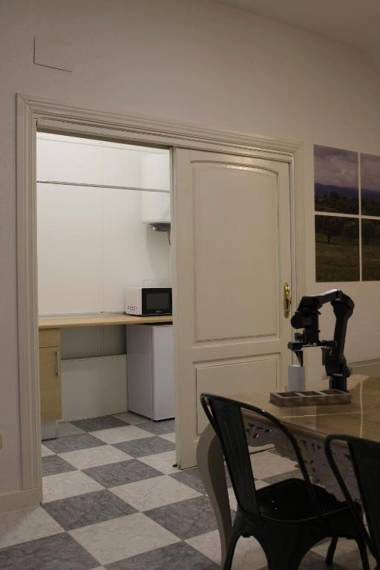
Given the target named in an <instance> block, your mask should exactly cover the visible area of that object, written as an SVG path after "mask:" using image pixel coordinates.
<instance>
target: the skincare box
mask: <svg viewBox="0 0 380 570" xmlns="http://www.w3.org/2000/svg"><path fill="white" fill-rule="evenodd" d="M305 370H306V367H305V365H303V367H301V366H300V364H288V365H287V379H288V381H287V382H288V392H289V391H307V389H306V371H305Z"/></svg>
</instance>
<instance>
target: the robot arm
mask: <svg viewBox="0 0 380 570" xmlns="http://www.w3.org/2000/svg"><path fill="white" fill-rule="evenodd" d="M328 303H329V305H331V307H332V312H333V315H334V316H335V325H334V332H333V336H332V337H333V338H332V339H331V338H330V339H328V338H327V339H320V333H321V329H320V323H319V322H320V321H319V320H320V319H319V316H321V315H322V312H320V310H319V309H322V308H323V305H324V304H328ZM297 306H298V307H297V309H296V311H294V314H293V315H292V316H291V318H290V320H289V321H290V326H291V327H292V328H293V329H294V330H301V329H302V332H294V335H293V336H294V341H288V342H287V349H288V350H290V351H291V352H294V354H295V356H296V357H297V360H298V363H299V365H300V366H301V367H303V366H304V350H303V348H317V347H320V350H321V365H322V366H323V367H324V371H325V374H326V377H329V380H328V389H338V390H340V391H343V392H346V393H349V391H350V390H348V379H349V378H350V377H351V372H352V371H351V370H350V369H349V367H348V365H347V362H348V361H347V358H346V356H345V353H344V352H345V347H346V345H345V344H346V338H347V330H348V322H349V319H350V318H351V317H352V316H353V313H354V309H355V301H353V299H352V297H351V296H349V295H347V294H346V293H344V292H343V291H342V290H341V289H339V288H338V289H337V288H336V289H335V288H334V289H329V290H327V291H324V292H321V293H318V294H313V295H311V294H309V295H303V296H302V297H301V299H300V301H299V303H298V305H297Z"/></svg>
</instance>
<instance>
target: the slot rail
mask: <svg viewBox="0 0 380 570" xmlns="http://www.w3.org/2000/svg"><path fill="white" fill-rule="evenodd" d="M269 400H270V401H271V402H273V403H275V404H276V405H277V406H280V407H291V406H292V407H294V406H308V405H309V406H310V405H313V406H314V405H327V404H328V405H329V404H342V403H344V404H345V403H346V404H347V403H352V394H351V393H349V392H343V391H340V390H338V389H329V388H328V389H312V390H309V389H306V391H289V390H288V391H273V392H269Z"/></svg>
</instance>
